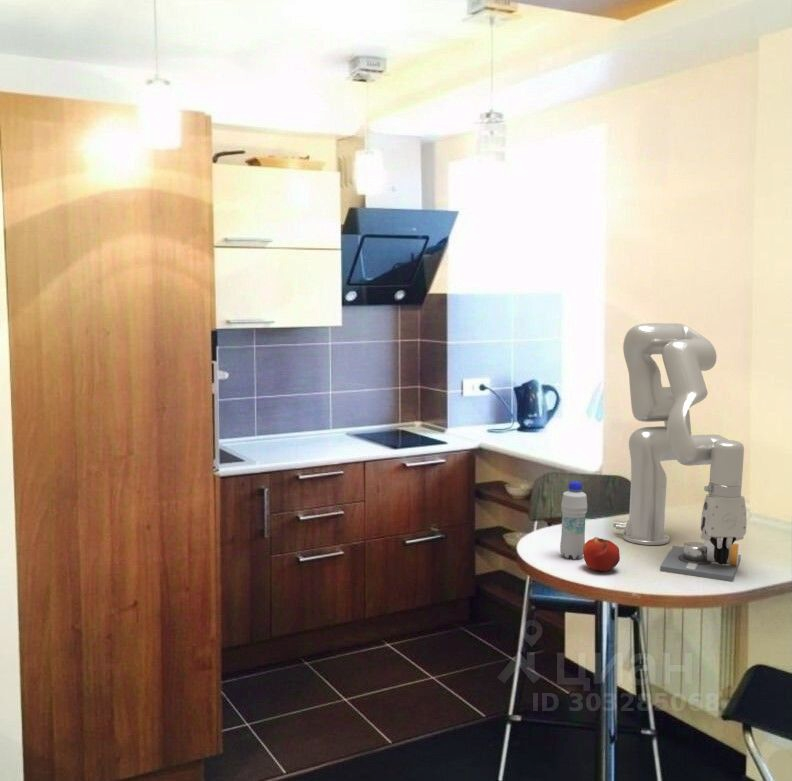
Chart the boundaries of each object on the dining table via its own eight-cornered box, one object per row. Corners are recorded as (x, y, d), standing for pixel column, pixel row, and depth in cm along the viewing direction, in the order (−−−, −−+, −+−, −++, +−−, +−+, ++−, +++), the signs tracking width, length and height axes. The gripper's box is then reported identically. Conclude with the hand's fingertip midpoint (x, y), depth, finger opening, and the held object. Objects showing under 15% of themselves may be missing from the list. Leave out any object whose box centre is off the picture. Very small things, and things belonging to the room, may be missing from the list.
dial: (681, 559, 232) (682, 541, 232) (685, 553, 238) (686, 535, 237) (735, 567, 227) (737, 548, 226) (738, 561, 232) (739, 542, 231)
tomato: (592, 561, 235) (593, 531, 234) (625, 569, 229) (627, 538, 228) (574, 570, 228) (576, 538, 227) (608, 578, 222) (610, 546, 221)
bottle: (581, 553, 242) (585, 478, 239) (588, 560, 235) (591, 484, 233) (556, 552, 242) (559, 478, 239) (562, 560, 235) (565, 484, 233)
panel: (660, 570, 228) (660, 565, 228) (673, 550, 246) (673, 544, 246) (732, 581, 221) (732, 575, 220) (740, 559, 239) (740, 554, 238)
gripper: (703, 494, 221) (699, 568, 223) (761, 493, 223) (756, 566, 225) (689, 487, 228) (685, 558, 231) (745, 486, 231) (740, 557, 233)
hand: (720, 562), depth 228 cm, fingers closed
